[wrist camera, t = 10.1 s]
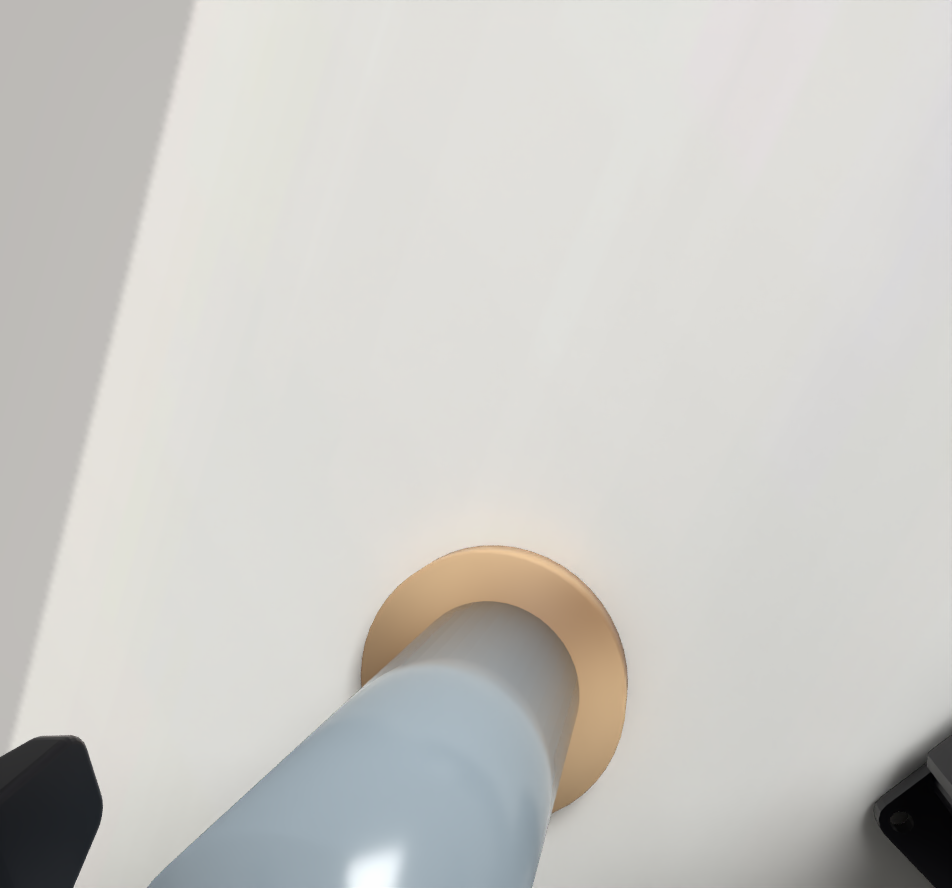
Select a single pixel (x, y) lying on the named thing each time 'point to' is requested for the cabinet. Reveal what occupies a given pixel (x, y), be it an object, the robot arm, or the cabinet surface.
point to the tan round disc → (547, 598)
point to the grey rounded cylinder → (413, 772)
